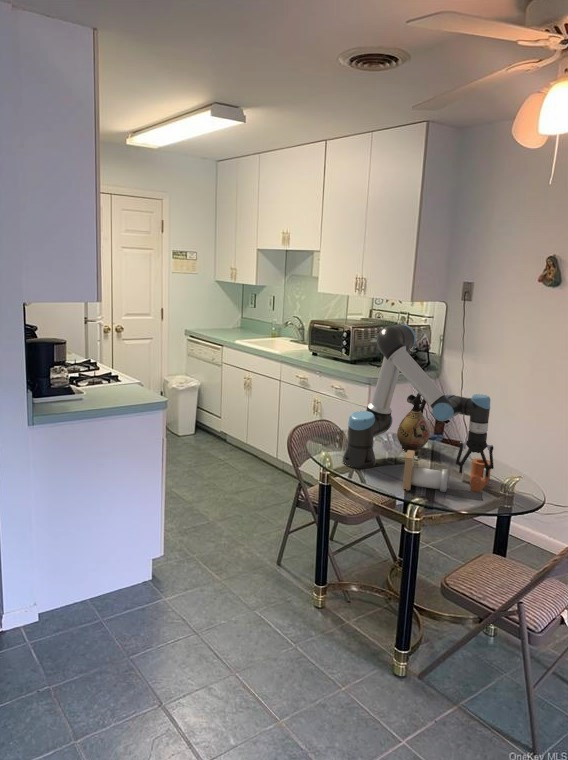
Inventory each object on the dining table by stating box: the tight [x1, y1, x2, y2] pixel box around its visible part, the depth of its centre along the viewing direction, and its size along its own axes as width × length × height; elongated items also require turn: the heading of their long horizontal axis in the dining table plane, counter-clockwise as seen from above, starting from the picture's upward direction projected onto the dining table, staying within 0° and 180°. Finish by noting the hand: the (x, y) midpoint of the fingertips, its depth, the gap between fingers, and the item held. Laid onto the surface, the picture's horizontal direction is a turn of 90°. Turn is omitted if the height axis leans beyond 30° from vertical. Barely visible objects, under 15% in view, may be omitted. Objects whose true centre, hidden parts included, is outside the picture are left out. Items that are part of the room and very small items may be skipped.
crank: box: [469, 458, 492, 492], centre depth 246 cm, size 20×8×8 cm
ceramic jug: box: [396, 392, 430, 453], centre depth 285 cm, size 17×15×30 cm
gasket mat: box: [446, 486, 484, 502], centre depth 235 cm, size 14×8×1 cm, turn 73°
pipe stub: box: [402, 450, 449, 493], centre depth 238 cm, size 17×10×14 cm, turn 73°
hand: (472, 481), depth 248 cm, fingers open, 8 cm apart
